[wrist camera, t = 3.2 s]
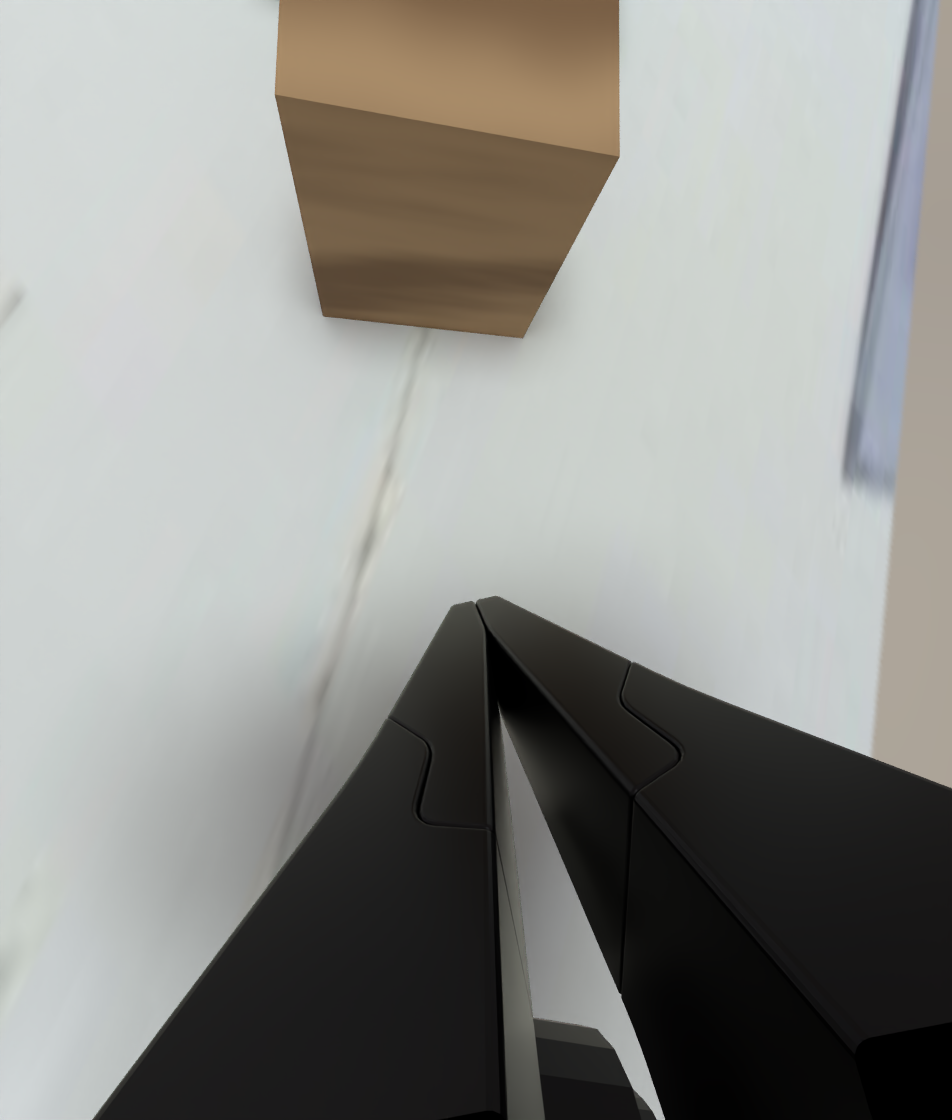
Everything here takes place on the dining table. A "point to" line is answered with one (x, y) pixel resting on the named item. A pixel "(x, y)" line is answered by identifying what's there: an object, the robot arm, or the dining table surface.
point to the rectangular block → (446, 150)
